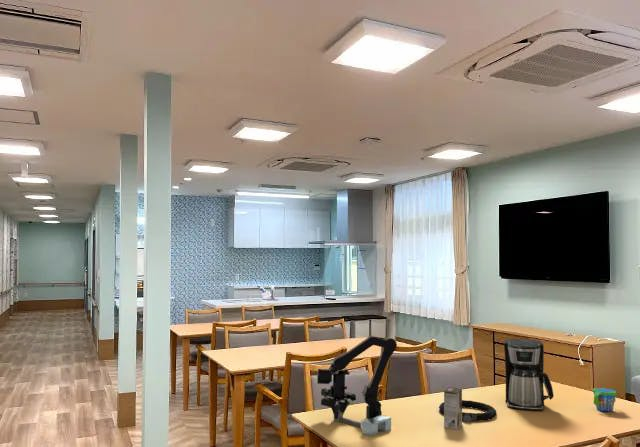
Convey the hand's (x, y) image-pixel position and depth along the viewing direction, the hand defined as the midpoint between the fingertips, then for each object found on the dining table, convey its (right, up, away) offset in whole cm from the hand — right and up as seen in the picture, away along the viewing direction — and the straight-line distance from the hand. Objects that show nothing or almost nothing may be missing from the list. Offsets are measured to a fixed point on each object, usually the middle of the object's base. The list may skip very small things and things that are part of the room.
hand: (338, 418), depth 248 cm
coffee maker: (+103, -6, +36) cm, 109 cm away
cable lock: (+64, -4, +15) cm, 66 cm away
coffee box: (+52, -2, -5) cm, 52 cm away
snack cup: (+138, -6, +27) cm, 141 cm away
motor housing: (+16, 0, -15) cm, 22 cm away
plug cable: (+7, -1, -6) cm, 9 cm away
